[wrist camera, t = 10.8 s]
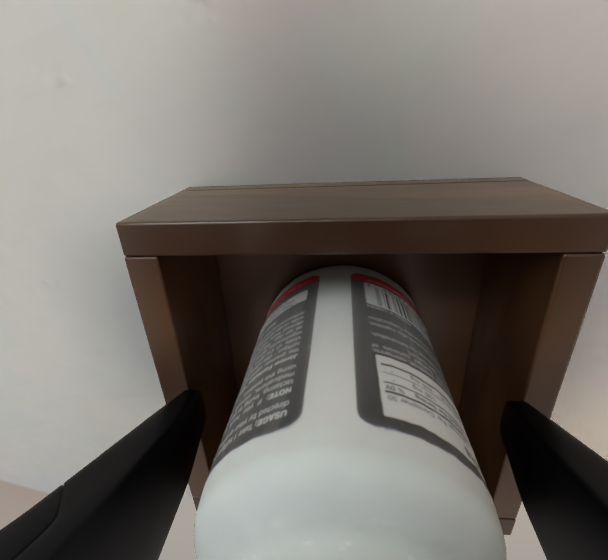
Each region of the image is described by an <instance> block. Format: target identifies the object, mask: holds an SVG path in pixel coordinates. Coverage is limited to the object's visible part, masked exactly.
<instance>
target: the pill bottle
mask: <svg viewBox="0 0 608 560" xmlns="http://www.w3.org/2000/svg"><path fill="white" fill-rule="evenodd" d="M194 547H195V553H196V558H197V560H506V546H505V541H504V535H503V531H502V527H501V524H500V521H499V518H498V515H497V511H496V508H495V505H494V502H493V498H492V496H491V494H490V492H489V490H488V488H487V485H486V482H485V479H484V477H483V475H482V472H481V470H480V467H479V465H478V462H477V460H476V457H475V454H474V451H473V449H472V447H471V445H470V442H469V439H468V437H467V434H466V432H465V429H464V426H463V424H462V421H461V419H460V416H459V413H458V411H457V409H456V407H455V404H454V401H453V399H452V396H451V393H450V390H449V388H448V385H447V383H446V380H445V378H444V375H443V372H442V370H441V367H440V364H439V362H438V359H437V357H436V354H435V352H434V350H433V347H432V344H431V342H430V339H429V336H428V333H427V330H426V328H425V326H424V323H423V321H422V319H421V317H420V314H419V312H418V310H417V308H416V306H415V304H414V302H413V301H412V299H411V298H410V296H409V295H408V294H407V293H406V292H405V291H404V290H403V289H402V288H401V287H400V286H399V285H398V284H396V283H395V282H394V281H392V280H391V279H389V278H388V277H386V276H384V275H382V274H380V273H378V272H375V271H373V270H369V269H366V268H362V267H357V266H347V265H339V266H330V267H324V268H320V269H317V270H314V271H311V272H308V273H306V274H303V275H301V276H299V277H298V278H296V279H294V280H293V281H292V282H291V283H290V284H289V285H287V286H286V287H285V288H284V289H283V290H282V291H281V292H280V293H279V295H278V296H277V297H276V299H275V300H274V302H273V303H272V305H271V307H270V309H269V311H268V314H267V316H266V318H265V321H264V324H263V326H262V329H261V331H260V333H259V337H258V340H257V343H256V345H255V348H254V351H253V353H252V356H251V359H250V363H249V366H248V369H247V372H246V375H245V377H244V380H243V383H242V386H241V389H240V392H239V394H238V397H237V399H236V402H235V405H234V407H233V410H232V413H231V416H230V418H229V421H228V424H227V427H226V429H225V432H224V434H223V437H222V440H221V443H220V445H219V448H218V450H217V453H216V455H215V458H214V460H213V464H212V466H211V469H210V472H209V474H208V477H207V480H206V482H205V486H204V489H203V492H202V495H201V499H200V502H199V505H198V509H197V514H196V519H195V524H194Z"/></svg>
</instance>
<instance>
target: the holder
mask: <svg viewBox="0 0 608 560" xmlns="http://www.w3.org/2000/svg"><path fill="white" fill-rule="evenodd" d="M116 228H117V231H118V235H119V238H120V242H121V245H122V249H123V252H124V255H125V256H127V257H125V261H126V264H127V268H128V271H129V275H130V279H131V282H132V286H133V289H134V293H135V296H136V300H137V303H138V307H139V310H140V314H141V317H142V321H143V324H144V328H145V331H146V335H147V338H148V342H149V345H150V349H151V352H152V356H153V359H154V363H155V366H156V370H157V373H158V377H159V380H160V384H161V388H162V391H163V395H164V398H165V402H166V404H167V403H169V402H170V401H171V400H172V399H174V398H175V397H176V396H178V395H179V394H180V393H182V392H183V391H184V390H187V389H191V390H200V391H201V392H202V395H203V400H204V404H205V409H206V421H205V425H204V429H203V432H202V436H201V439H200V443H199V447H198V450H197V454H196V458H195V461H194V465H193V469H192V472H191V475H190V478H189V481H188V482H189V486H190V489H191V493H192V496H193V500H194V503H195V507H196V510H197V509H198V505H199V502H200V499H201V495H202V492H203V489H204V486H205V482H206V480H207V477H208V474H209V472H210V469H211V466H212V464H213V460H214V458H215V455H216V453H217V450H218V448H219V445H220V443H221V440H222V437H223V434H224V432H225V429H226V427H227V424H228V421H229V418H230V416H231V413H232V410H233V407H234V405H235V402H236V399H237V397H238V394H239V392H240V389H241V386H242V383H243V380H244V377H245V375H246V372H247V369H248V366H249V363H250V359H251V356H252V353H253V351H254V348H255V345H256V343H257V340H258V337H259V333H260V331H261V329H262V326H263V324H264V321H265V318H266V316H267V314H268V311H269V309H270V307H271V305H272V303H273V302H274V300H275V299H276V297H277V296H278V295H279V293H280V292H281V291H282V290H283V289H284V288H285V287H286V286H287V285H289V284H290V283H291V282H292V281H293V280H294V279H296V278H298V277H299V276H301V275H303V274H306V273H308V272H311V271H314V270H317V269H320V268H324V267H330V266H339V265H347V266H357V267H362V268H366V269H369V270H373V271H375V272H378V273H380V274H382V275H384V276H386V277H388V278H389V279H391V280H392V281H394V282H395V283H396V284H398V285H399V286H400V287H401V288H402V289H403V290H404V291H405V292H406V293H407V294H408V295H409V296H410V298H411V299H412V301H413V302H414V304H415V306H416V308H417V310H418V312H419V314H420V317H421V319H422V321H423V323H424V326H425V328H426V330H427V333H428V336H429V339H430V342H431V344H432V347H433V350H434V352H435V354H436V357H437V359H438V362H439V364H440V367H441V370H442V372H443V375H444V378H445V380H446V383H447V385H448V388H449V390H450V393H451V396H452V399H453V401H454V404H455V407H456V409H457V411H458V413H459V416H460V419H461V421H462V424H463V426H464V429H465V432H466V434H467V437H468V439H469V442H470V445H471V447H472V449H473V451H474V454H475V457H476V460H477V462H478V465H479V467H480V470H481V472H482V475H483V477H484V479H485V482H486V485H487V488H488V490H489V492H490V494H491V496H492V498H493V502H494V505H495V508H496V511H497V515H498V518H499V521H500V524H501V527H502V531H503V534H504V535H505V534H506V535H510V534H511V532H512V529H513V526H514V523H515V518H516V516H517V514H518V511H519V508H520V505H521V502H522V499H521V497H520V494H519V491H518V488H517V485H516V482H515V478H514V475H513V472H512V469H511V466H510V462H509V459H508V456H507V453H506V450H505V446H504V443H503V440H502V437H501V433H500V421H501V417H502V413H503V410H504V406H505V403H506V402H507V401H509V400H517V401H525V402H527V403H529V404H530V405H531V406H533V407H534V408H536V409H537V410H538V411H540V412H541V413H542V414H544V415H545V416H546V417H548V418H549V419H550V417H551V414H552V411H553V408H554V405H555V402H556V399H557V396H558V393H559V390H560V387H561V384H562V381H563V378H564V375H565V373H566V370H567V367H568V364H569V361H570V358H571V355H572V352H573V349H574V346H575V343H576V340H577V337H578V334H579V331H580V329H581V326H582V323H583V320H584V317H585V314H586V311H587V308H588V305H589V302H590V299H591V296H592V293H593V290H594V287H595V284H596V282H597V279H598V276H599V273H600V270H601V267H602V264H603V261H604V258H605V254H604V253H602V252H606V251H607V249H608V210H607V209H604V208H601V207H599V206H596V205H593V204H590V203H588V202H585V201H582V200H580V199H577V198H574V197H572V196H569V195H566V194H564V193H561V192H558V191H556V190H553V189H550V188H548V187H545V186H542V185H540V184H537V183H534V182H532V181H529V180H526V179H524V178H521V177H509V178H476V179H443V180H410V181H377V182H344V183H311V184H278V185H245V186H212V187H189V188H187V189H185V190H183V191H181V192H179V193H177V194H175V195H173V196H171V197H169V198H167V199H165V200H163V201H161V202H158V203H156V204H154V205H152V206H150V207H148V208H146V209H144V210H142V211H140V212H138V213H136V214H134V215H132V216H130V217H128V218H126V219H124V220H122V221H120V222H118V223H117V224H116Z"/></svg>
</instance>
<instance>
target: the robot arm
mask: <svg viewBox="0 0 608 560" xmlns="http://www.w3.org/2000/svg"><path fill="white" fill-rule="evenodd" d="M205 421H206V409H205V404H204V400H203V395H202V392H201V391H200V390H191V389H187V390H184V391H183V392H182V393H180V394H179V395H178V396H176V397H175V398H174V399H172V400H171V401H170V402H169V403H167V404H166V405H165V406H163V407H162V408H161V409H159V410H158V411H157V412H156V413H154V414H153V415H152V416H150V417H149V418H148V419H147V420H145V421H144V422H143V423H141V424H140V425H139V426H137V427H136V428H135V429H134V430H132V431H131V432H130V433H128V434H127V435H126V436H124V437H123V438H122V439H121V440H119V441H118V442H117V443H115V444H114V445H113V446H112V447H110V448H109V449H108V450H106V451H105V452H104V453H102V454H101V455H100V456H99V457H97V458H96V459H95V460H93V461H92V462H91V463H89V464H88V465H87V466H86V467H84V468H83V469H82V470H80V471H79V472H78V473H77V474H75V475H74V476H73V477H71V478H70V479H69V480H67V481H66V482H65V483H64V486H63V485H61V486H59V487H58V488H57V489H56V490H54V491H53V492H52V493H50V494H49V495H48V496H47V497H45V498H44V499H43V500H41V501H40V502H39V503H37V504H36V505H34V506H33V507H32V508H31V509H29V510H28V511H26V512H25V513H24V514H22V515H21V516H20V517H18V518H17V519H16V520H14V521H13V522H11V523H10V524H8V525H7V526H6V527H4V528H3V529H1V530H0V560H158V558H159V556H160V553H161V551H162V548H163V545H164V543H165V540H166V538H167V535H168V533H169V530H170V528H171V525H172V522H173V520H174V517H175V514H176V512H177V510H178V507H179V504H180V502H181V499H182V497H183V494H184V492H185V489H186V486H187V484H188V481H189V478H190V475H191V472H192V469H193V465H194V461H195V458H196V454H197V450H198V447H199V443H200V439H201V436H202V432H203V429H204V425H205ZM500 433H501V437H502V440H503V443H504V446H505V450H506V453H507V456H508V459H509V462H510V466H511V469H512V472H513V475H514V478H515V482H516V485H517V488H518V491H519V494H520V497H521V499H522V501H523V504H524V507H525V509H526V511H527V514H528V516H529V518H530V521H531V523H532V525H533V528H534V530H535V532H536V535H537V537H538V539H539V542H540V544H541V546H542V549H543V551H544V553H545V556H546V558H547V560H608V461H606V460H605V459H604V458H602V457H601V456H599V455H598V454H597V453H595V452H594V451H593V450H591V449H590V448H589V447H587V446H586V445H584V444H583V443H582V442H580V441H579V440H578V439H576V438H575V437H574V436H572V435H571V434H570V433H568V432H567V431H565V430H564V429H563V428H561V427H560V426H559V425H557V424H556V423H555V422H553V421H552V420H551V419H549V418H548V417H546V416H545V415H544V414H542V413H541V412H540V411H538V410H537V409H536V408H534V407H533V406H531V405H530V404H529V403H527V402H525V401H517V400H509V401H507V402H506V403H505V406H504V410H503V413H502V417H501V421H500Z"/></svg>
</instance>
